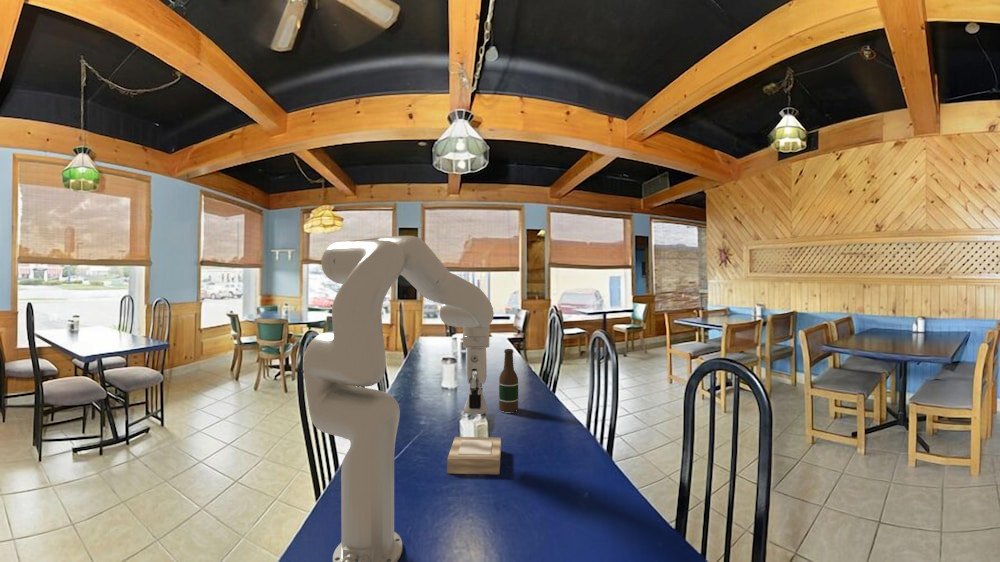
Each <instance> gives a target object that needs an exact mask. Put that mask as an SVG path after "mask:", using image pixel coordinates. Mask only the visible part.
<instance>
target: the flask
mask: <svg viewBox="0 0 1000 562" xmlns="http://www.w3.org/2000/svg"><path fill="white" fill-rule="evenodd" d="M476 383H479V381H476ZM476 387H478V385H476ZM469 394H470V391H469V392H468V396H467V398H466V401H465V403H464V406H463V413H464V414H468V415H469V414H470V415H483V414H485V413H487V412H488V411H489V410H488V409H489V408H488V406H487V405H488V404H487V402H486V399H485V396H484V393H483V389H482V390H481V384H480V394H481V408H480V409H470V408H469Z"/></svg>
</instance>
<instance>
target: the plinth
mask: <svg viewBox="0 0 1000 562" xmlns="http://www.w3.org/2000/svg"><path fill="white" fill-rule="evenodd" d="M501 453H502V438H501V437H494V436H493V437H487V436H486V437H483V436H482V437H481V436H477V437H476V436H454V437H453V442H452V444H451V448H450V449H449V453H448V455H447V461H446V462H447V467H446V468H447V469H446V470H447V473H446V474H457V475H458V474H465V475H469V474H470V475H500V473H501V472H500V468H501Z"/></svg>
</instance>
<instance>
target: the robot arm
mask: <svg viewBox="0 0 1000 562" xmlns="http://www.w3.org/2000/svg"><path fill="white" fill-rule="evenodd" d="M320 261H321V268H322V271H323V273H324V275H325V276H326V278H328V280H330V281H332V282H333V283H336V284H340V285H341V286H340V288H339V290H338V291H337V293H336V295H335V297H334V300H333V303H332V306H331V307H332V308H331V317H332V318H331V322H332V323H331V324H332V331H325V332H322V333H320V334H318V335H316V336H315V337H313V338H312V340H310V342H309V343H308V345H307V347H306V350H305V352H304V356H303V360H302V361H303V363H302V369H303V378H304V379H303V380H304V385H305V391H306V398H307V399H306V400H307V404H308V405H307V406H308V412H309V417H310V419H311V422H312V424H313V426H314V427H315V428H316V429H317V430H318V431H320V432H322V433H325V434H328V435H332V436H336V437H339V438H343V439H345V440H348V441H350V444H349V445H350V446H349V448H348V449H347V452H346V454H345V455H344V457H343V460H342V463H341V470H340V473H341V475H340V482H341V485H340V486H341V488H340V491H341V492H340V493H341V494H340V496H341V498H340V499H341V503H340V504H341V505H340V507H341V513H340V514H341V516H340V518H341V520H340V521H341V542H340V543H339V544H337V545H338V546H337V547H336V548H335V549H334V552H333V554H332V562H398V561H399V560H400V558H401V555H402V554H403V540H402V537H401V536H400V534H398V533H397V532H396V531H395V447H396V438H397V432H398V427H399V423H400V416H401V415H400V414H401V410H400V406H399V403H398V401H397V399H396V398H394V396H393V395H391V394H389V393H388V392H385V391H382V390H379V389H373V388H368V387H371V386H375V385H376V384H378V383H380V381H381V380H382V379H383V378H384V375H385V373H386V367H387V365H386V364H387V361H386V360H387V359H386V358H387V357H386V349H385V348H386V347H385V337H384V329H383V317H382V311H383V303H384V300H385V298H386V296H387V294H388V292H389V291H390V289H391V287H392V286H393V284H395V281H397V280H398V278H399V277H400V276H402V277H403V278H404V279H405V280H406V281H407V282H408V283H409V284H411V286H412V287H413V288H415V290H416V291H417V292H418V293H420V295H421V296H422V297H424V298H425V299H426V300H429V301H432V302H435V303H437V304H440V305H441V306H440V309H439V318H440V320H441V321H442V323H443V324H444V325H447V326H449V327H457V328H458V327H459V328H462V348H465V349H466V382H467V384H469V392H470V394H469V393H468V395H469V408H470V409H480V408H481V394H480V384H481V390H482V391H483V387H482V385H485V383H486V380H487V377H488V376H487V374H488V373H487V348H489V347H490V325H491V324H492V322H493V320H494V315H495V314H494V308H493V305H492V303H491V301H490V299H489V298H488V297H487V295H486V293H485V292H484V291H483V290H482V289H481V288H479V287H478V286H477V285H475V284H473V283H472V282H470V281H468V280H466V279H464V278H463V277H460V276H459V275H457V274H454V273H453V272H451V271H449V270H448V268H447V267H446V265H444V264H443V263H442V261H441V260H440V258H439V257H438V256H437V254H435V252H434V251H433V250H432V249H431V247H430V246H429V245H428V244H427V243H426V242H425V240H423V239H422V238H420V237H417V236H415V235H395V236H394V235H393V236H392V235H391V236H379V237H371V238H364V239H356V240H354V239H353V240H345V241H337V242H334V243H332V244H330V245H329V246H328V247H327V248H326V249H325V250H324V252H323V253H322V256H321V260H320ZM476 381H479V383H476ZM476 385H478V387H476Z"/></svg>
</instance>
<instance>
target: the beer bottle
mask: <svg viewBox="0 0 1000 562" xmlns="http://www.w3.org/2000/svg"><path fill="white" fill-rule="evenodd" d="M503 352H504V360H503V361H504V364H503V370H502V371H501V372H500V375H499V379H498V380H499V381H498V407H499V408H498V409H499V411H500V410H501V411H504V412H514V411H516V410H518V411H519V377H518V374H517V373H516V371H515V369H514V368H515V367H514V350H513V349H512V348H505V349H504V351H503Z"/></svg>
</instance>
